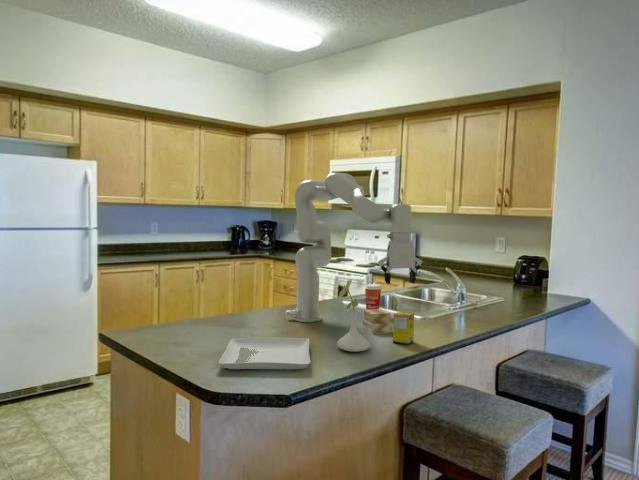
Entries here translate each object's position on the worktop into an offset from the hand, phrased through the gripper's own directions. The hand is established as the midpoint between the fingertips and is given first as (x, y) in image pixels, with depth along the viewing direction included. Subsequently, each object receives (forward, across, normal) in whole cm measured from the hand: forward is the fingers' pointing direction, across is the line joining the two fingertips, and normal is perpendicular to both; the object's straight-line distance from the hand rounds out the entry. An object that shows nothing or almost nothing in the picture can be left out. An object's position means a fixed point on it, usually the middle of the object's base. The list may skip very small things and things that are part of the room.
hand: (400, 283), depth 177 cm
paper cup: (+21, +3, +38) cm, 44 cm away
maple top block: (+17, -4, +14) cm, 22 cm away
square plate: (+21, -52, -14) cm, 58 cm away
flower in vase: (+21, -22, -10) cm, 32 cm away
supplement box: (+22, 0, -4) cm, 22 cm away
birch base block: (+21, -4, +14) cm, 26 cm away
